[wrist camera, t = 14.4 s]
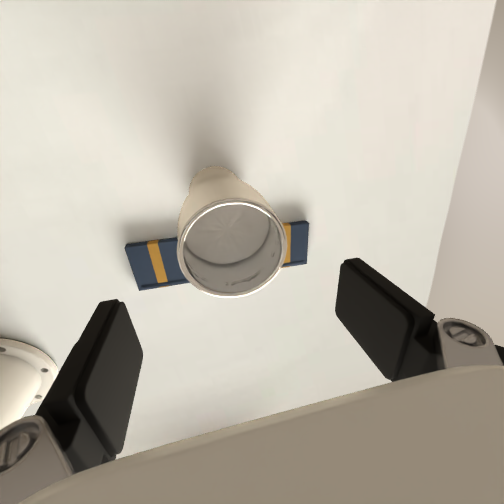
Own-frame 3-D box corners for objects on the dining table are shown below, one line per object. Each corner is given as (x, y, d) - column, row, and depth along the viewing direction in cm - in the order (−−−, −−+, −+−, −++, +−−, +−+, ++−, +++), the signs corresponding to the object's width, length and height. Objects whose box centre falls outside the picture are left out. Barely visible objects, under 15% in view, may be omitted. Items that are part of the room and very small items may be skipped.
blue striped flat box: (141, 287, 31) (139, 292, 30) (126, 243, 28) (123, 247, 27) (303, 261, 34) (307, 265, 33) (305, 220, 31) (309, 223, 30)
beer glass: (180, 161, 25) (163, 196, 12) (246, 161, 26) (296, 192, 13) (188, 224, 28) (180, 306, 15) (246, 221, 29) (286, 294, 16)
